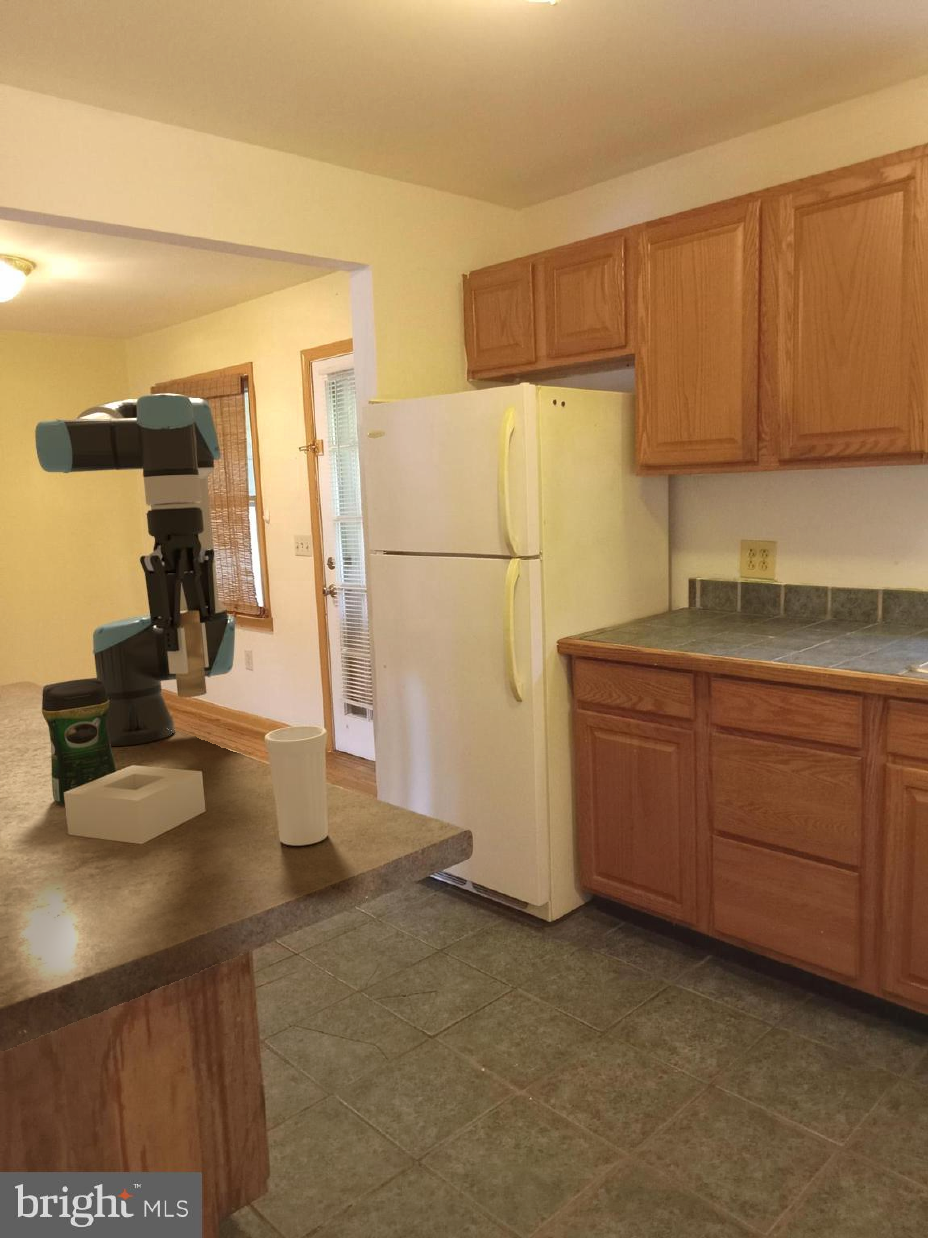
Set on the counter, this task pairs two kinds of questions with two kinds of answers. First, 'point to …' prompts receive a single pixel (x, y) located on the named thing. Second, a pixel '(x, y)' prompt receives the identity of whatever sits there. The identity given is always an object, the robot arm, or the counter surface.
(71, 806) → the socket block
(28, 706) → the counter surface
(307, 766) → the cup
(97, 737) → the coffee jar
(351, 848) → the counter surface
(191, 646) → the dowel
